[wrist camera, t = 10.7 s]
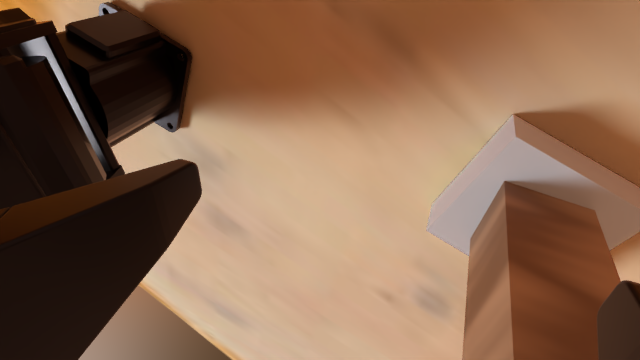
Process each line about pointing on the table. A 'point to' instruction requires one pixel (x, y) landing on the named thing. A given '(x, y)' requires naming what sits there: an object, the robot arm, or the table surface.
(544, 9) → the table surface
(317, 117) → the table surface
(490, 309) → the walnut block
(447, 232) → the base
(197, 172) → the robot arm
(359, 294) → the table surface
